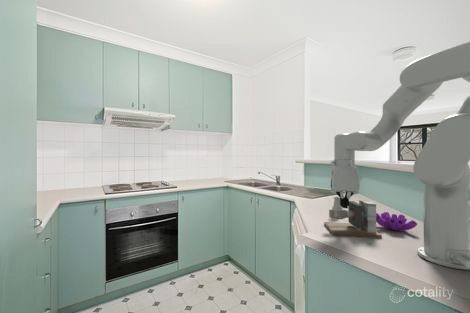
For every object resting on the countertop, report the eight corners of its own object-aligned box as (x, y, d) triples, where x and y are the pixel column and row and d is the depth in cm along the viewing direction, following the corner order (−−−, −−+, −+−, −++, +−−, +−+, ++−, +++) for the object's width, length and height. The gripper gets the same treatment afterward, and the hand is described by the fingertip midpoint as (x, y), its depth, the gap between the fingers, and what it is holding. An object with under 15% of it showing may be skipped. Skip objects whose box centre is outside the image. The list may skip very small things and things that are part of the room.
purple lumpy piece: (394, 242, 83) (377, 221, 85) (382, 230, 98) (367, 212, 100) (422, 227, 81) (403, 206, 82) (405, 217, 95) (390, 199, 97)
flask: (326, 215, 111) (326, 196, 111) (337, 214, 113) (337, 195, 113) (337, 219, 104) (336, 199, 104) (348, 218, 106) (348, 198, 106)
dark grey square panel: (362, 228, 82) (362, 205, 82) (356, 228, 83) (356, 205, 83) (353, 221, 91) (353, 201, 91) (348, 221, 91) (348, 201, 92)
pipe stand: (381, 238, 79) (381, 205, 79) (333, 235, 82) (333, 204, 82) (365, 226, 93) (364, 198, 93) (324, 224, 95) (324, 197, 96)
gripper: (327, 163, 85) (327, 209, 85) (367, 164, 83) (368, 210, 83) (323, 163, 93) (323, 204, 93) (360, 163, 90) (360, 206, 90)
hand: (344, 207), depth 88 cm, fingers closed
